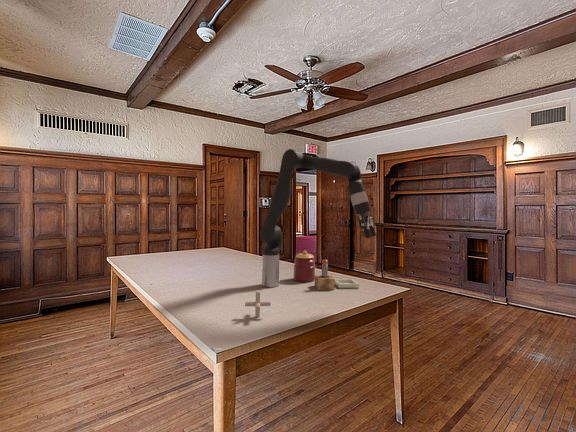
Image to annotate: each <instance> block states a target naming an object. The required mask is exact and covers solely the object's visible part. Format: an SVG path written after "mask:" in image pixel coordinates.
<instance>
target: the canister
mask: <svg viewBox="0 0 576 432" xmlns="http://www.w3.org/2000/svg"><path fill="white" fill-rule="evenodd" d="M293 261H294V264H293V280H294V281H295V282H300V283H311V282H315V275H316V265H315V263H316V259H315V256H314V255H313V254H311V253H308V251H307V250H303V251H302V253H297V254H296V255H295V258H294V259H293Z"/></svg>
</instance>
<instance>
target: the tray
mask: <svg viewBox="0 0 576 432" xmlns="http://www.w3.org/2000/svg"><path fill="white" fill-rule="evenodd" d="M335 287H337V288H338V289H341V290H342V289H343V290H344V289H345V290H347V289H359V287H360V285H359V282H357V281H356V280H354V279H353V278H335Z"/></svg>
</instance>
